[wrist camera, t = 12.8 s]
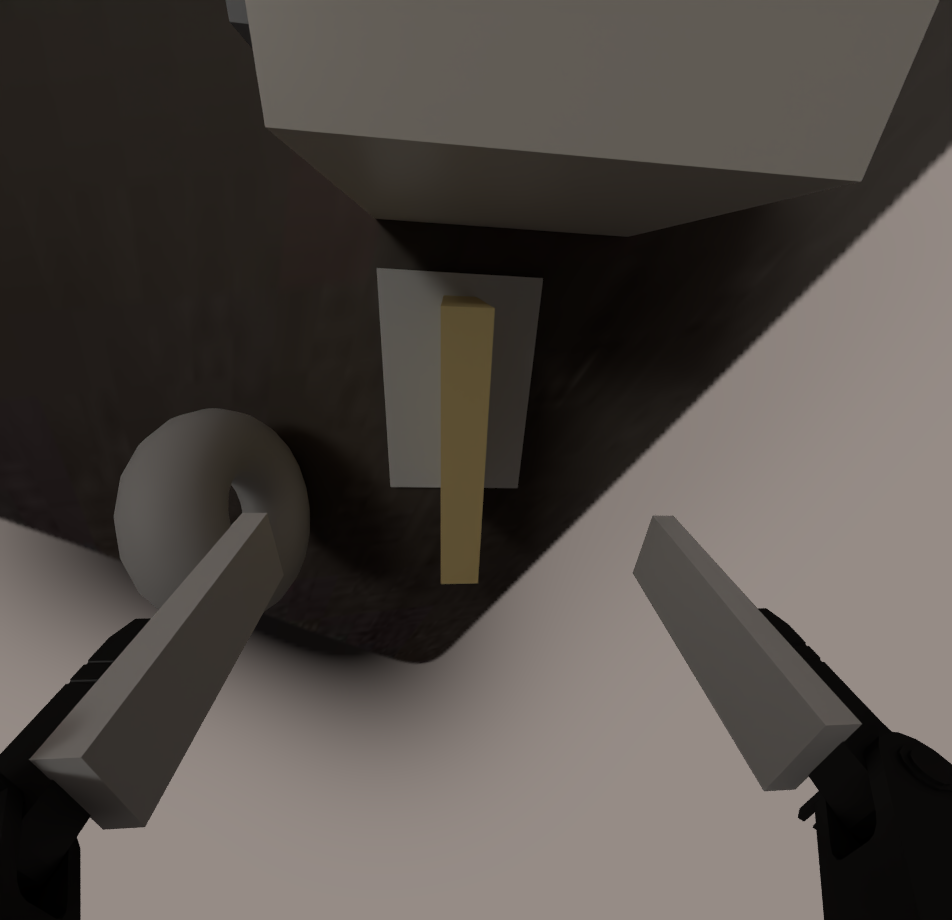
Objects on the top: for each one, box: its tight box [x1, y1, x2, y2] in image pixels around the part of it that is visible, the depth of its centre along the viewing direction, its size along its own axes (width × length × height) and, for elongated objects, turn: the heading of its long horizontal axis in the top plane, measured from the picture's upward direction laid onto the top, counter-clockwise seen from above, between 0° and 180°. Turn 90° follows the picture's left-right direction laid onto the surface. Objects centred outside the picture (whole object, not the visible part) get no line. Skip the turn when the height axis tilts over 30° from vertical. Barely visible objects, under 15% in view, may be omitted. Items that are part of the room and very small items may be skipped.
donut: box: [114, 408, 310, 611], centre depth 17 cm, size 10×4×10 cm, turn 9°
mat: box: [377, 268, 543, 488], centre depth 20 cm, size 12×8×1 cm, turn 177°
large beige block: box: [226, 0, 939, 237], centre depth 10 cm, size 8×13×11 cm, turn 87°
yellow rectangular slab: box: [441, 295, 495, 584], centre depth 17 cm, size 2×11×8 cm, turn 178°
